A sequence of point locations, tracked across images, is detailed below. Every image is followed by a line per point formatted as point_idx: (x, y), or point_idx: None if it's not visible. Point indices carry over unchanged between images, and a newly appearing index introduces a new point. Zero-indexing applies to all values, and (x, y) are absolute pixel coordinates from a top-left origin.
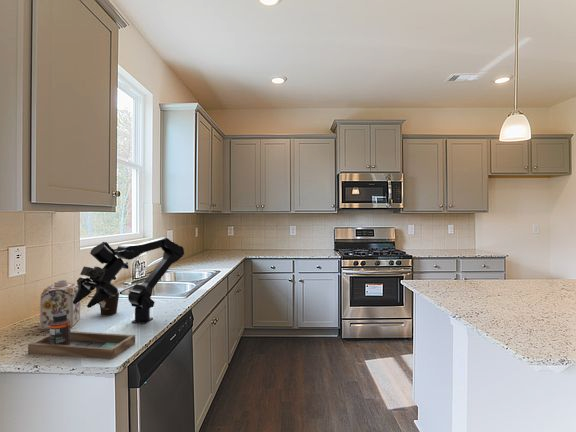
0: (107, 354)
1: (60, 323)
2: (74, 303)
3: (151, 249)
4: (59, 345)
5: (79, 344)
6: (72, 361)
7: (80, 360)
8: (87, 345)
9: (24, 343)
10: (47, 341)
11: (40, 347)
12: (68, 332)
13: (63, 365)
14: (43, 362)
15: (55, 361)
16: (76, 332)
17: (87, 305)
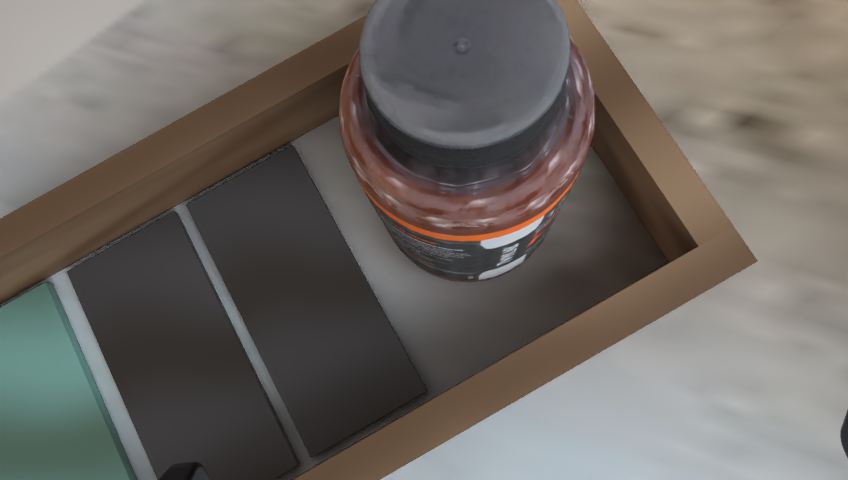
0: None
1: (349, 70)
2: (845, 420)
3: None
4: (244, 101)
5: (348, 330)
6: (45, 153)
7: (10, 200)
8: (273, 375)
9: (821, 17)
10: None
11: None
12: (380, 217)
13: (32, 84)
14: (214, 7)
15: (157, 70)
16: (513, 364)
17: (168, 476)
